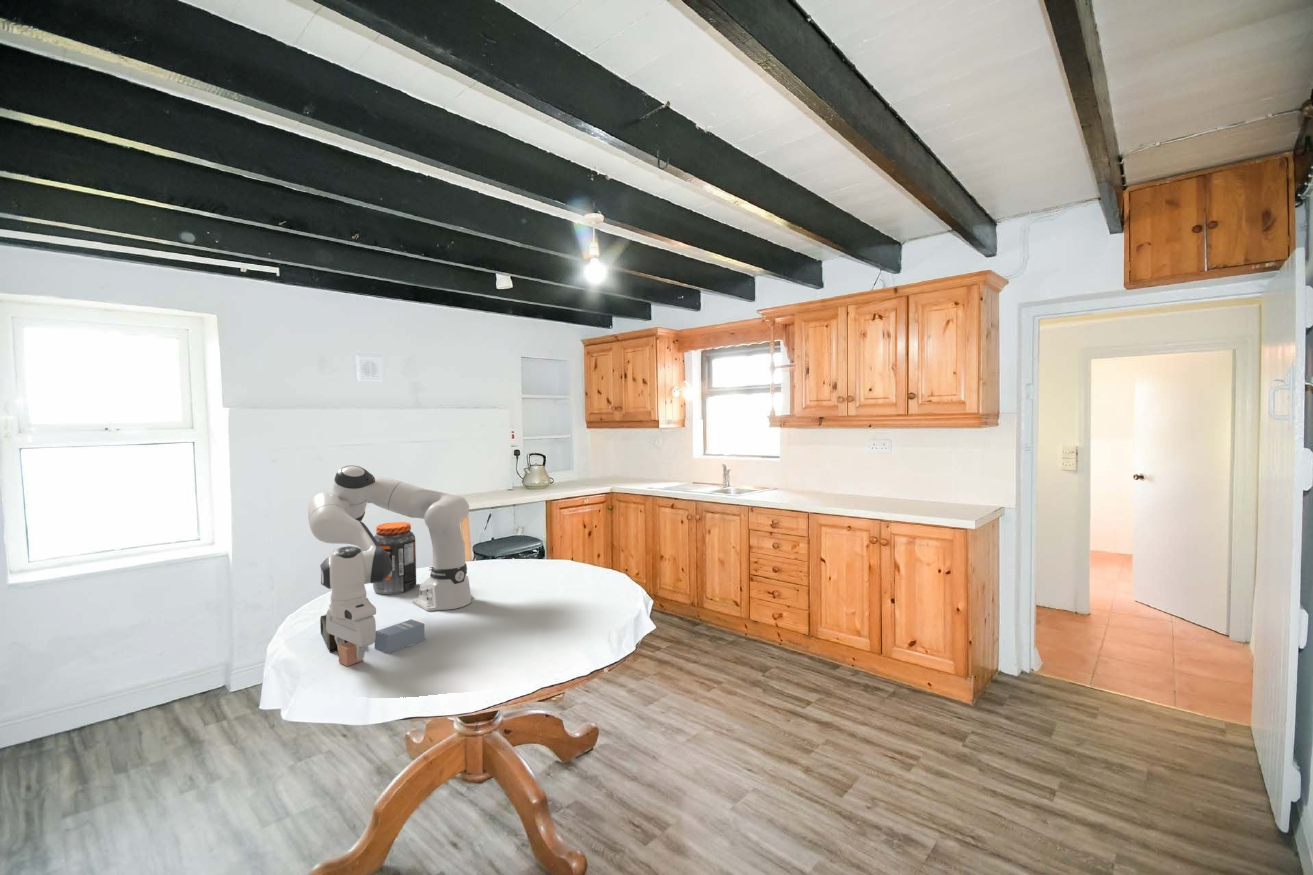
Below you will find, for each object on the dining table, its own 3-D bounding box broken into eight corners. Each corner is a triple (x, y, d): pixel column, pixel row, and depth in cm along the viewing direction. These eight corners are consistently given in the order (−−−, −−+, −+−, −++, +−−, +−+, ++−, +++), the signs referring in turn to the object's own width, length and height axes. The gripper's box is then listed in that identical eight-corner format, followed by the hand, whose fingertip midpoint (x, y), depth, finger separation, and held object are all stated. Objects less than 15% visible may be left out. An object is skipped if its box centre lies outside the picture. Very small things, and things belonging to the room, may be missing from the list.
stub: (338, 662, 159) (338, 644, 159) (354, 656, 162) (354, 639, 162) (347, 666, 156) (346, 648, 156) (362, 660, 160) (362, 642, 160)
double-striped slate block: (374, 648, 169) (374, 631, 168) (411, 634, 178) (411, 618, 178) (387, 653, 165) (387, 636, 164) (424, 639, 175) (424, 623, 174)
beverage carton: (348, 628, 185) (347, 608, 185) (359, 647, 170) (359, 625, 170) (320, 634, 181) (319, 613, 180) (329, 654, 165) (328, 631, 165)
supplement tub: (365, 590, 224) (363, 525, 223) (403, 581, 237) (401, 519, 236) (386, 598, 215) (384, 530, 214) (424, 587, 227) (422, 523, 226)
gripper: (318, 602, 162) (320, 650, 162) (356, 616, 150) (358, 667, 151) (341, 596, 167) (343, 642, 168) (379, 609, 156) (381, 658, 156)
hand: (350, 654), depth 159 cm, fingers open, 8 cm apart
